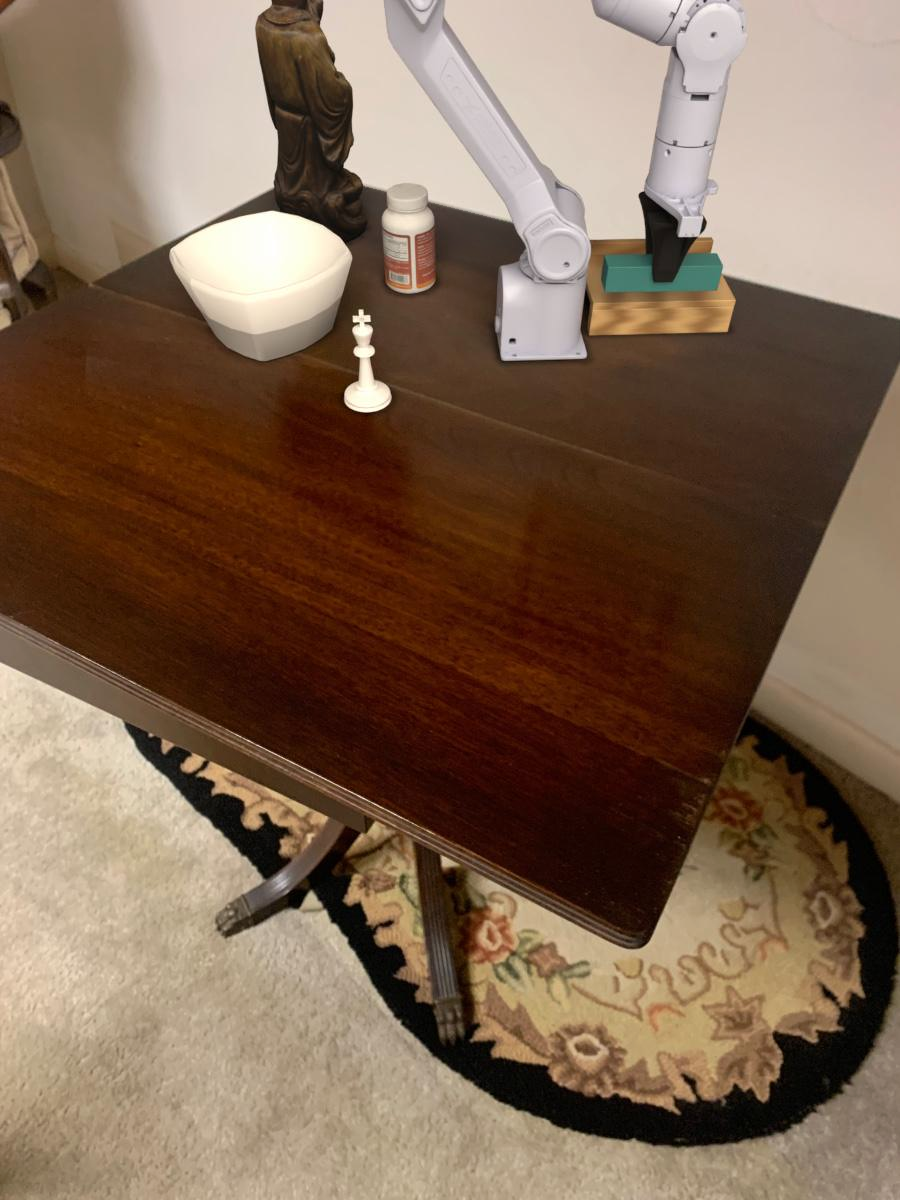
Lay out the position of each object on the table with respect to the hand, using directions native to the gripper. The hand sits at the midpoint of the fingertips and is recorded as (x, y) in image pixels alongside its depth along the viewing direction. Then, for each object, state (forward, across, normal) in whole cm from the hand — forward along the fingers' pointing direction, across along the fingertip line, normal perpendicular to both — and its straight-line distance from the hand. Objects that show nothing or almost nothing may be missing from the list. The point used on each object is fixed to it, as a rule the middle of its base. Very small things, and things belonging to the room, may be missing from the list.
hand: (659, 272), depth 93 cm
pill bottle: (+9, +14, +26) cm, 31 cm away
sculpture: (+9, +29, +38) cm, 49 cm away
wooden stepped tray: (+8, +8, -2) cm, 12 cm away
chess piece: (+9, -10, +31) cm, 34 cm away
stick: (+1, 0, 0) cm, 1 cm away
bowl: (+9, +4, +42) cm, 43 cm away
